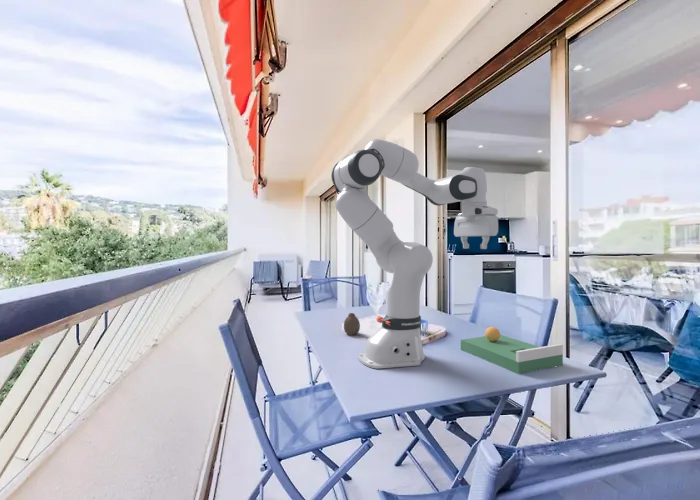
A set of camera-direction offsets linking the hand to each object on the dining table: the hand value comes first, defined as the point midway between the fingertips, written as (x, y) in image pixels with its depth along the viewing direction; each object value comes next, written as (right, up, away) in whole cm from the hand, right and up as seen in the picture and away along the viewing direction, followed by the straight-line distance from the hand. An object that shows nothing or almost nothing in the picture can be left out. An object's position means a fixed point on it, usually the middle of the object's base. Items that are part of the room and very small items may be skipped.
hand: (474, 248), depth 133 cm
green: (+7, -36, -13) cm, 39 cm away
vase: (-46, -37, +19) cm, 62 cm away
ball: (+4, -30, -7) cm, 31 cm away
